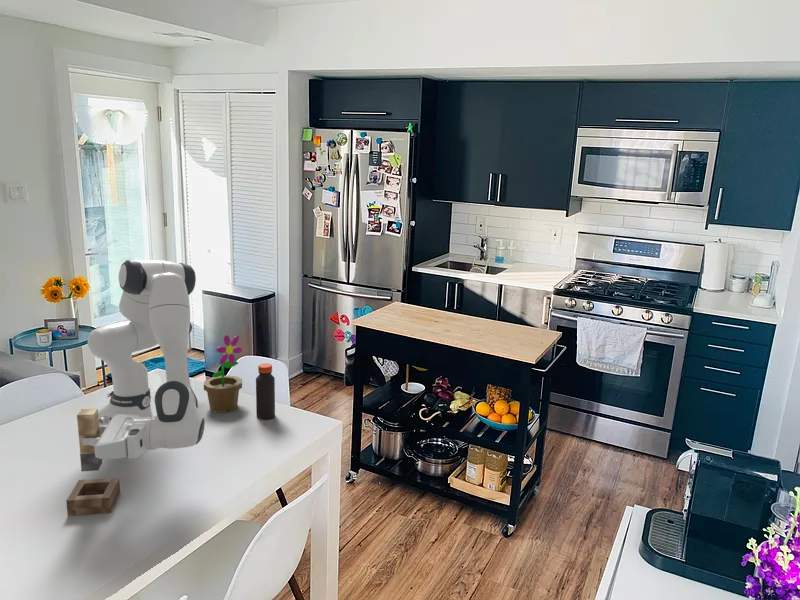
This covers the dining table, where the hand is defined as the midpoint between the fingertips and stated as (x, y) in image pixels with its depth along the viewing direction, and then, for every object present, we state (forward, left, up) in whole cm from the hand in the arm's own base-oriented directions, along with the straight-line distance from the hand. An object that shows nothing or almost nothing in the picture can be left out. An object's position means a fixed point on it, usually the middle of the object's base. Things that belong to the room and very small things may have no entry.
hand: (85, 436), depth 161 cm
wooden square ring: (+1, 0, -20) cm, 20 cm away
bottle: (+16, +68, -20) cm, 73 cm away
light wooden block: (+1, 0, -9) cm, 9 cm away
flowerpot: (-3, +70, -20) cm, 73 cm away
